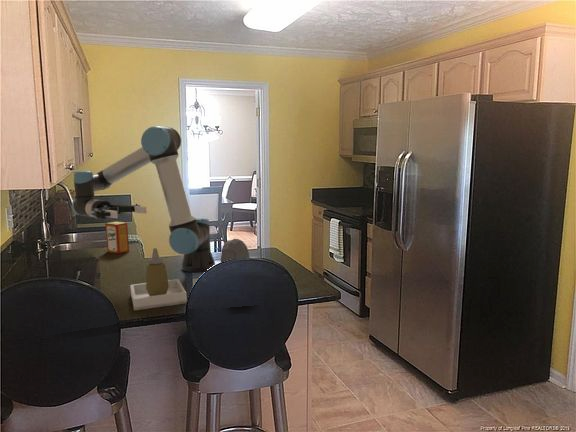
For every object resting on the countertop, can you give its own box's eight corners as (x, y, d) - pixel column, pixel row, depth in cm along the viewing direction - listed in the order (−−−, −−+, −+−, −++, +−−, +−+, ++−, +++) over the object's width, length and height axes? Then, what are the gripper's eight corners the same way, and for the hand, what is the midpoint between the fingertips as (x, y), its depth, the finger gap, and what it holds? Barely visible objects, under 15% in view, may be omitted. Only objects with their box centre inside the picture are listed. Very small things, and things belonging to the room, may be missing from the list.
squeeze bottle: (173, 295, 169) (170, 248, 167) (153, 301, 164) (150, 252, 161) (161, 291, 175) (158, 245, 172) (142, 296, 169) (139, 248, 166)
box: (179, 288, 181) (178, 279, 180) (187, 303, 164) (186, 292, 164) (131, 295, 174) (130, 284, 174) (134, 310, 158) (133, 299, 157)
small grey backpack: (237, 282, 188) (236, 234, 185) (256, 284, 185) (254, 235, 182) (218, 293, 174) (216, 242, 171) (237, 296, 171) (236, 243, 168)
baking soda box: (107, 251, 247) (105, 222, 245) (117, 249, 252) (115, 220, 250) (118, 254, 242) (116, 224, 239) (129, 251, 247) (127, 222, 245)
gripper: (125, 213, 204) (157, 217, 192) (72, 222, 183) (104, 226, 172) (124, 196, 203) (156, 199, 191) (70, 203, 182) (102, 206, 170)
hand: (131, 212), depth 181 cm, fingers open, 13 cm apart
